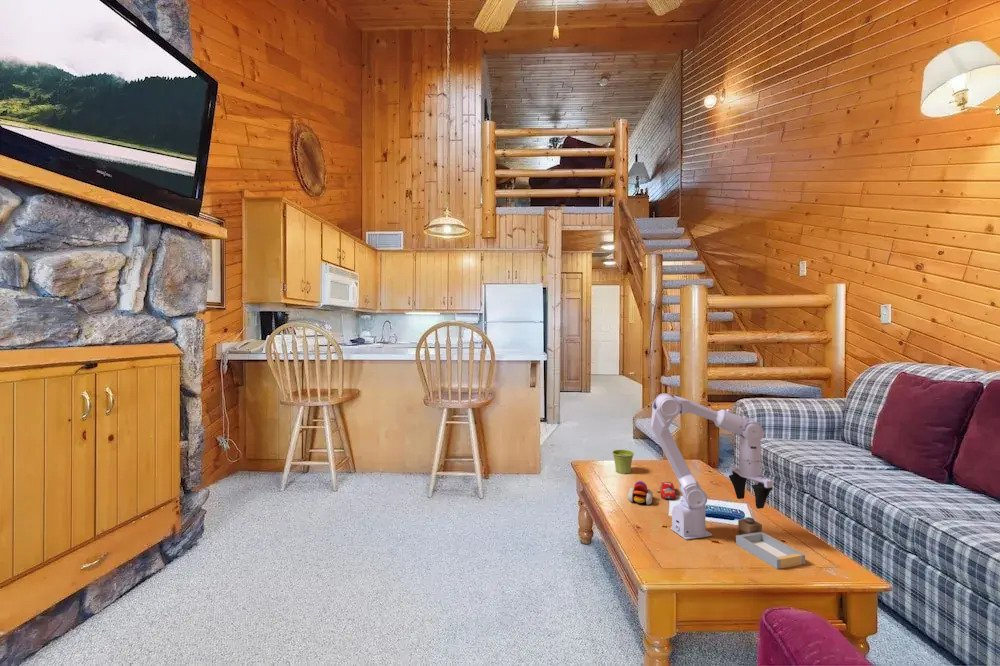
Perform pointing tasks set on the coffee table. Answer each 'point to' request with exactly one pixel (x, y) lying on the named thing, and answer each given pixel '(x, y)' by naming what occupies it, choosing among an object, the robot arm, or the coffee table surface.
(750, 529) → the block with grey knob
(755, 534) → the tray
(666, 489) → the race car
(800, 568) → the coffee table surface
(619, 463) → the plant pot
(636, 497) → the rainbow flower
